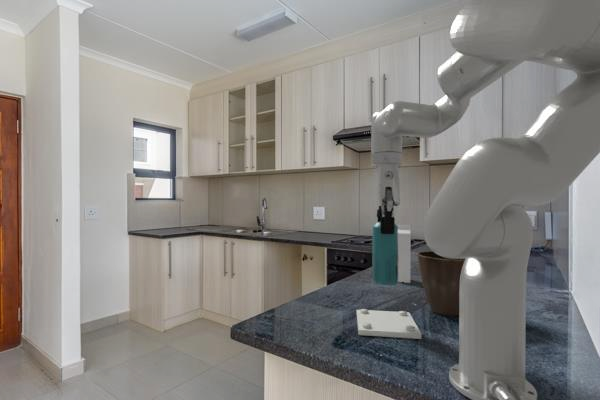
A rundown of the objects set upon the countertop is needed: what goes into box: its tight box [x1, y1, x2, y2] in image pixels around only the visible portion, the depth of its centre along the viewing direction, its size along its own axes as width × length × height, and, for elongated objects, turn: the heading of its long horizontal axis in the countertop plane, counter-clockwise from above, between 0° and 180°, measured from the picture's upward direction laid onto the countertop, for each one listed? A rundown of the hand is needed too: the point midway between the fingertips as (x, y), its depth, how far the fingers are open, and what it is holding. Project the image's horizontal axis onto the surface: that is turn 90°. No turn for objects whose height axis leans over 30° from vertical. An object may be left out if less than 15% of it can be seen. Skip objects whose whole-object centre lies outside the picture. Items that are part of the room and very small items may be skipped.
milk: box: [395, 223, 412, 284], centre depth 125 cm, size 6×6×22 cm
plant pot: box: [417, 250, 466, 317], centre depth 91 cm, size 15×15×16 cm
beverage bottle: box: [371, 209, 399, 286], centre depth 81 cm, size 6×7×20 cm
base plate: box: [356, 308, 422, 340], centre depth 80 cm, size 14×14×2 cm
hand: (385, 231), depth 81 cm, fingers closed on beverage bottle, 6 cm apart
